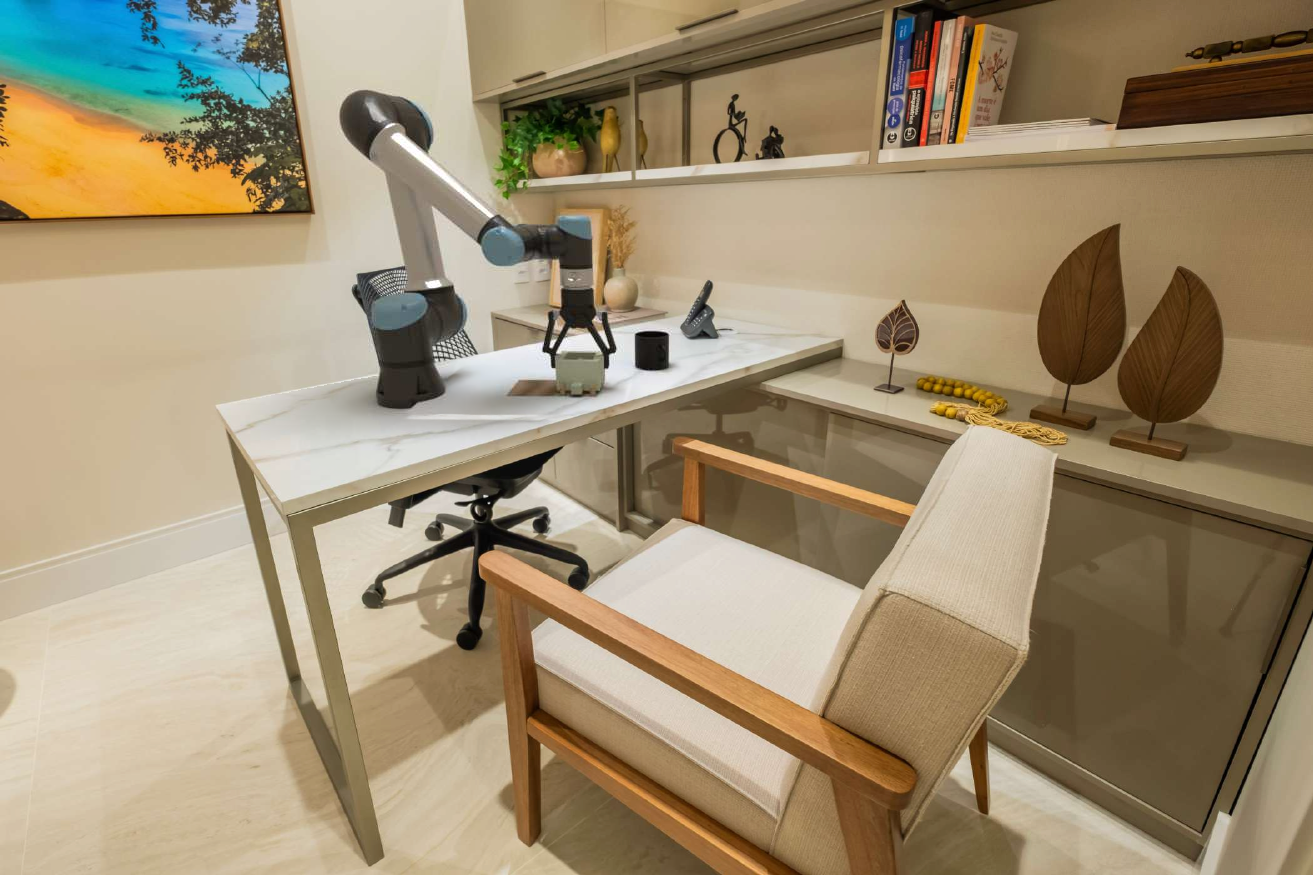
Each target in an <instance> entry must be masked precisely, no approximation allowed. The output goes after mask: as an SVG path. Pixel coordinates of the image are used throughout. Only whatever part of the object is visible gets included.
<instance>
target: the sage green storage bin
mask: <svg viewBox="0 0 1313 875" xmlns="http://www.w3.org/2000/svg"><path fill="white" fill-rule="evenodd" d="M601 354H603V353H602V352H601V350H599V351H597V350H593V351H592V350H562V351H560V355H559V357H558V358H557V359H556V361H555V366H556V368H555V380H556V383H557V390H560V385H559V383H560V382H564V383H565V390H571V394H582V392H583V391H590V383H591V382H594V383H595V391H599V392H600V391H601V388H602V385H603V383H601V361H600V356H601ZM578 358H583V359H584V360H577V359H578Z"/></svg>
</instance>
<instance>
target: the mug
mask: <svg viewBox="0 0 1313 875" xmlns="http://www.w3.org/2000/svg"><path fill="white" fill-rule="evenodd" d="M634 366H635V368H637V369H638V370H642V371H643V370H644V371H661V370H665V369H667V368H668V367H670V335H669V333H668V332H666V331H661V330H643V331H638V332H636V333H635V334H634Z"/></svg>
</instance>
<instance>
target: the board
mask: <svg viewBox="0 0 1313 875" xmlns="http://www.w3.org/2000/svg"><path fill="white" fill-rule="evenodd" d="M559 385H560V390H557V383H556V379H518V380H517V382H516V383H515V384H514V385H513V387H512V388H511V389H510V391H509V392H508V393H507V394H506V395H505V396H507V397H570V398H572V397H576V398H578V397H579V398H581V397H582V398H583V397H584V398H585V397H587V398H588V397H589V398H590V397H591V398H595V397H596V398H597V397H598V394H599V392H600V391H595V383H594V382H591V383H590V391H583V392H582V394H571V390H565V383H564V382H560V383H559Z"/></svg>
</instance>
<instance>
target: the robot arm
mask: <svg viewBox="0 0 1313 875" xmlns="http://www.w3.org/2000/svg"><path fill="white" fill-rule="evenodd" d="M339 108H340V109H339V114H338V115H339V124H340V127H341V130H342V133H343V134H344V137H346V139H347V141H348V142H349V143H350V144H351V146H353V147H354V148H355V149H356V150H357V151H358V152H360V154H362V156H364V157H365V158H366V159H367V160H369V161H370V162H371V163H372V164H374V165H375V166H377V167H378V168H379V169H380V170H382V171H383V173H384V175H385V179H386V183H387V189H388V193H389V197H390V202H391V208H392V212H393V217H394V221H395V226H396V230H397V236H398V239H399V244H400V250H401V253H402V258H403V263H404V268H405V272H406V276H407V277H406V278H407V283H406V284H405V285H404V287H403V289H402V290H403V292H401V293H400V292H399V293H395V294H388V295H385V296H382V297H380V298H378V299H376V300H374V302H373V303H372V305H371V324H372V325H373V331H374V332H373V333H374V337H375V338H374V339H375V343H376V344H375V345H376V349H377V355H378V362H379V367H380V368H379V374H378V380H377V386H376V389H375V390H376V391H375V392H376V393H375V395H376V401H377V404H379V405H380V406H383V407H387V408H398V409H399V408H400V409H402V408H405V409H406V408H413V407H414V406H416V405H417V404H418V403H423V402H427V401H430V400H434V399H437V398H439V397H442V396H443V395H444V394H445V393H446V386H445V383H444V381H443V379H442V377H441V375H440V373H439V371H438V369H437V366H436V365H435V360H434V354H433V353H434V352H433V351H434V350H433V346H434V345H437V344H439V343H441V342H444V341H445V342H446V341H448V340H450V339H452V338H454V337H456V335H458V334H460V333H461V332H462V331H463V330H464V328H465V326H466V323H467V321H468V320H467V319H468V310H467V306H466V303H465V301H464V300H463V297H460V296H459V294H458V293H457V292H456V291H455V285H454V282H452V281H451V280H450V279H449V278H447V276H446V274H445V267H444V264H443V259H442V253H441V252H442V251H441V248H440V243H439V242H440V241H439V238H438V232H437V228H436V222H435V217H434V211H433V208H434V209H435V210H437V211H438V212H439V213H440V214H442V215H443V216H444V217H445V218H446V219H448V220H449V221H450V222H451V223H452V224H454V226H456V227H457V228H458V229H460V231H462V232H463V233H465V235H466V236H468V237H469V238H470V239H472V240H473V241H474V242H475V243H477V244H478V245H479V246H480V247H481V251H482V254H483V257H484V258H485V259H486V260H487V262H489V263H490V264H492V265H494V266H496V267H512V266H515V265H517V264H520V263H526V262H530V261H535V260H550V261H551V260H553V261H556V260H557V261H558V262H559V264H558V265H559V266H558V267H559V282H560V283H559V285H560V286H561V287H562V288H560V304H561V305H560V306H561V307H560V309H559V310H554V309H550V310H549V312H547V318H548V319H547V320H548V322H547V323H548V324H547V328H546V332H545V336H544V341H543V344H542V349H541V350H542V351H541V352H542V353H544V354H548V355H549V356H550V367H551V369H556V366H555V361H556V359H557V358H558V357H559V355H560V354H561V352H560V353H557V352H558V351H559V348H560V346H561V344H562V343H563V341H564V338H565V336H566V335H567V332H568V331H569V329H582V330H584V329H586V330H587V331H588V332H589V334H590V336H591V337H592V338H593V341H594V342H595V344H596V345H597V347H598V348H599V349H600V350H599V351H601V352H602V353H603V354H601V356H600V361H601V383H602V384H605V382H606V370H608V369H609V367H610V355H612V354H615V353H616V352H617V350H618V349H617V346H616V345H617V344H616V341H615V338H614V336H613V333H612V329H611V325H610V323H609V312H608V310H606V309H605V310H603V311H602V310H597V309H596V308H595V295H594V294H595V291H594V288H593V287H592V286H593V285H594V267H593V266H594V265H593V232H592V221H591V218H590V217H589V216H587V215H582V214H581V215H576V214H574V215H558V216H557V218H556V224H532V223H531V224H530V223H529V224H527V223H517V224H512V223H510V222H509V221H508V219H506V218H505V217H503V216H502V215H501V214H500V213H499V212H498V211H496V210H495V209H494V208H493V207H492V206H491V205H489V204H488V203H487V202H486V201H484V200H483V199H482V198H481V197H479V196H478V195H477V194H476V193H475V192H474V191H472V190H471V189H470V188H469V187H468V186H466V185H465V184H464V183H463V182H462V181H461V180H460V179H458V178H457V177H456V176H454V174H452V173H451V172H450V171H449V170H447V169H446V168H445V167H444V166H443V165H441V163H439V161H437V160H436V159H435V158H433V157H432V156H431V155H430V154H429V151H430V149H431V146H432V144H433V143H434V135H435V134H434V127H433V124H432V121H431V118H430V117H429V115H428V114H427V113H426V111H425V110H424V109H423V108H422V107H421V106H420V105H419V104H418V103H416V102H414V101H411V100H409V99H408V98H405V97H404V96H400V95H399V96H396V95H391V94H386V93H382V92H378V91H374V90H370V89H359V90H356V91H354V92H352V93H350V94H348V95H347V96H346V97H345V99H344V100H343V101H342V103H341V105H340V107H339ZM559 316H560V317H561V319H562V320H563V321H564V325H563V326H562V328H561V331H560V333H559V334H558V336H557V338H556V340H555V342H554V344H553V346H552V347H550V346H551V342H552V338H553V334H554V329H555V325H556V321H557V320H558V319H559ZM595 317H598V320H599V321H601V326H602V328H603V332H604V334H605V337H606V340H607V344H608V346H607V344H606V343H605V342H604V340H603V338H602V337H601V335H600V333H599V332H598V330H597V328H596V326H595V324H594V322H593V320H594V319H595Z"/></svg>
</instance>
